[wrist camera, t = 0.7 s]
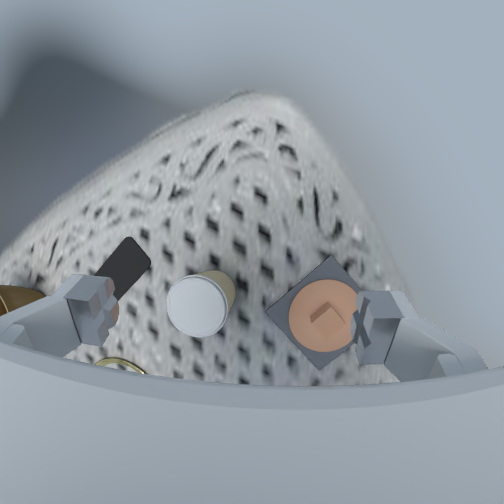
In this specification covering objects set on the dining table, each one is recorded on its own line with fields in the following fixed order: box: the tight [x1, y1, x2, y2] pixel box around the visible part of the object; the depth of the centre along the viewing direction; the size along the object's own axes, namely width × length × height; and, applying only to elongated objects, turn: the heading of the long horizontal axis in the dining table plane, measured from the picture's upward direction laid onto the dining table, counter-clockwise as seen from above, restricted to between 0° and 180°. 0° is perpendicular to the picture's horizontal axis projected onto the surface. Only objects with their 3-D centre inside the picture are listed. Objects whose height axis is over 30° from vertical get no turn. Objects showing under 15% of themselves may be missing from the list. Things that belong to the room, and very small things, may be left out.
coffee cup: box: [166, 270, 236, 337], centre depth 50 cm, size 9×9×12 cm
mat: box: [265, 255, 361, 370], centre depth 54 cm, size 15×15×1 cm
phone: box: [94, 237, 151, 300], centre depth 58 cm, size 7×1×15 cm
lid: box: [289, 279, 358, 352], centre depth 51 cm, size 13×13×5 cm
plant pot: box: [0, 285, 45, 316], centre depth 54 cm, size 15×15×16 cm
